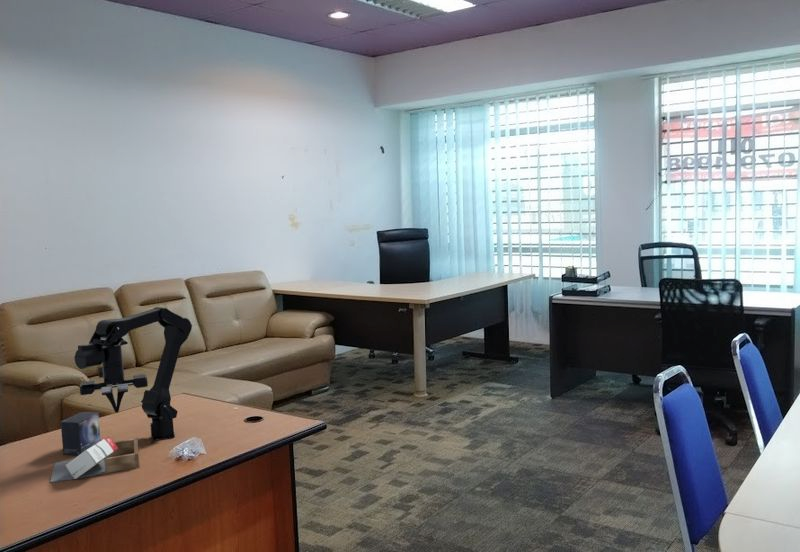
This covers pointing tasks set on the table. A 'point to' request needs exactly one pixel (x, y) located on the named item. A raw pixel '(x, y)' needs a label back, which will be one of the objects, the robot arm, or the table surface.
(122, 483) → the table surface
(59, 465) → the felt pad
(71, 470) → the ink box
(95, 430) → the small box
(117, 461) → the corral
